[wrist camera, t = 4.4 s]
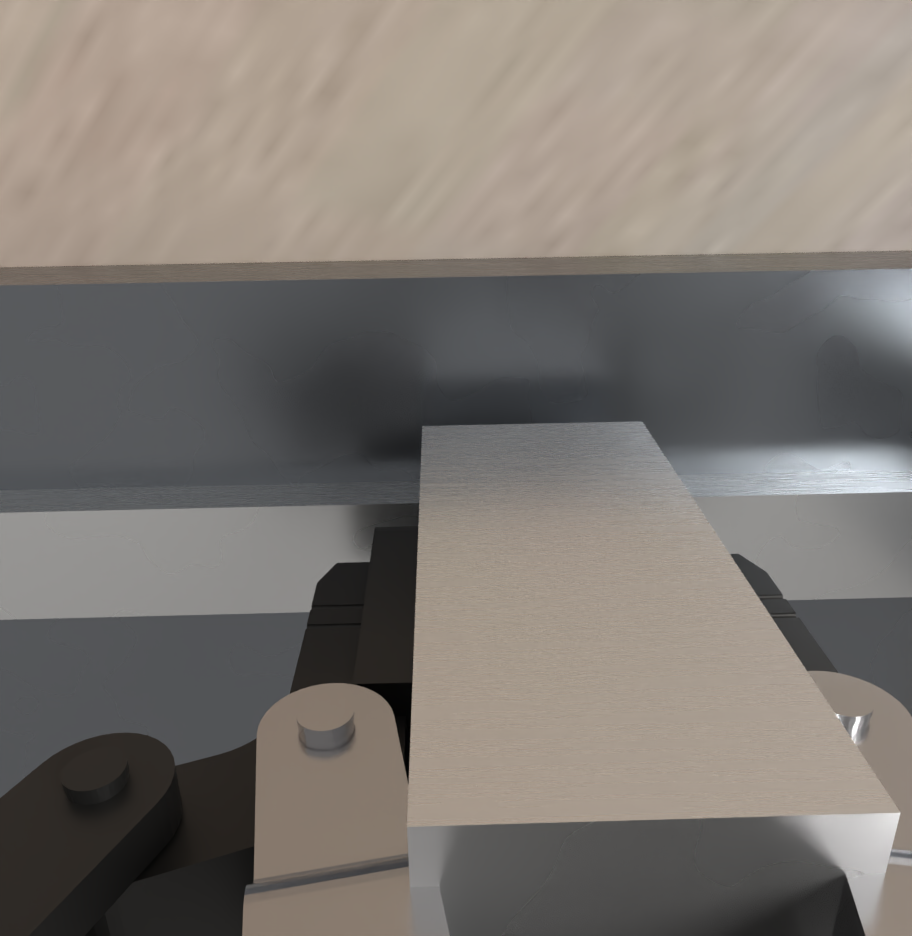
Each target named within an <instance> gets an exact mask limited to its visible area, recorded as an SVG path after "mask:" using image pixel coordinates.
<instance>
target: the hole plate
mask: <svg viewBox="0 0 912 936" xmlns="http://www.w3.org/2000/svg"><path fill="white" fill-rule="evenodd" d="M634 421H642V422H643V423H644V425H645V426H646V428H647V429H648V431H649V432H650V434H651V436H652V437H653V439H654V440H655V442H656V443H657V445H658V446H659V448H660V449H661V451H662V452H663V454H664V455H665V457H666V458H667V460H668V461H669V463H670V464H671V466H672V467H673V469H674V470H675V472H676V473H677V475H678V476H679V478H680V479H681V481H682V482H683V484H684V485H685V487H686V489H687V490H688V492H689V493H690V495H691V496H692V498H693V499H694V501H695V502H696V504H697V505H698V507H699V508H700V510H701V511H702V513H703V514H704V516H705V517H706V519H707V520H708V522H709V523H710V525H711V526H712V528H713V529H714V531H715V532H716V534H717V535H718V537H719V538H720V540H721V541H722V543H723V545H724V546H725V548H726V549H727V551H728V552H729V554H740V555H741V556H743V557H744V558H746V559H747V560H749V561H750V562H752V563H754V564H755V565H757V566H758V567H760V568H761V569H763V570H764V571H766V572H767V573H768V574H769V576H770V577H771V579H772V580H773V581H774V583H775V584H776V586H777V587H778V588H779V590H780V591H781V593H782V594H783V599H786V600H787V601H788V602H789V604H790V605H791V607H792V608H793V609H794V611H795V612H796V618H800V619H801V621H802V622H803V624H804V625H805V626H806V628H807V629H808V631H809V632H810V633H811V635H812V636H813V638H814V639H815V640H816V642H817V643H818V645H819V646H820V647H821V649H822V650H823V652H824V653H825V654H826V656H827V657H828V659H829V660H830V661H831V663H832V664H833V666H834V667H835V668H836V670H837V671H838V673H840V674H845V675H849V676H852V677H856V678H859V679H861V680H864V681H866V682H869V683H871V684H873V685H875V686H877V687H879V688H881V689H883V690H884V691H886V692H887V693H889V694H890V695H892V696H893V697H894V698H895V699H897V700H898V701H899V702H900V703H901V704H902V705H903V706H904V707H905V708H906V709H907V710H908V712H909V713H910V715H911V717H912V251H879V252H824V253H770V254H715V255H661V256H607V257H552V258H498V259H443V260H389V261H335V262H280V263H226V264H171V265H117V266H62V267H8V268H0V798H1V797H2V796H3V795H5V794H6V793H7V792H8V791H9V790H11V789H12V788H13V787H14V786H15V785H17V784H18V783H19V782H20V781H21V780H23V779H24V778H25V777H26V776H27V775H29V774H30V773H31V772H32V771H33V770H35V769H36V768H37V767H38V766H39V765H41V764H42V763H43V762H44V761H46V760H47V759H49V758H50V757H51V756H53V755H54V754H56V753H58V752H59V751H61V750H63V749H64V748H67V747H69V746H71V745H73V744H75V743H77V742H80V741H83V740H86V739H89V738H92V737H96V736H100V735H105V734H112V733H139V734H143V735H148V736H151V737H153V738H155V739H158V740H159V741H161V742H162V743H164V744H165V745H166V746H167V747H168V748H169V750H170V751H171V753H172V755H173V757H174V762H175V766H176V765H180V764H184V763H188V762H192V761H196V760H200V759H203V758H207V757H211V756H215V755H219V754H222V753H225V752H228V751H231V750H234V749H236V748H239V747H241V746H243V745H245V744H247V743H249V742H251V741H253V740H254V739H256V738H257V730H258V726H259V724H260V721H261V719H262V718H263V716H264V715H265V713H266V712H267V711H268V710H269V709H270V708H271V707H272V706H273V705H274V704H275V703H276V702H278V701H279V700H280V699H282V698H284V697H285V696H287V695H289V694H290V690H291V686H292V682H293V678H294V674H295V670H296V666H297V662H298V658H299V654H300V650H301V646H302V642H303V638H304V634H305V629H307V621H308V617H309V613H310V610H311V609H312V607H311V605H312V601H313V597H314V593H315V589H316V585H317V582H318V581H319V580H320V579H321V578H322V577H323V576H324V575H325V574H326V573H327V572H328V571H329V570H330V569H331V568H332V567H333V566H334V565H335V564H336V563H346V562H370V557H371V550H372V543H373V536H374V529H375V527H400V526H418V525H419V499H420V473H421V447H422V426H448V425H495V424H541V423H588V422H634Z"/></svg>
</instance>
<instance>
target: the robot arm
mask: <svg viewBox="0 0 912 936" xmlns="http://www.w3.org/2000/svg"><path fill="white" fill-rule="evenodd" d="M417 552H418V526H400V527H375V529H374V536H373V543H372V550H371V557H370V562H346V563H336V564H335V565H334V566H333V567H332V568H331V569H330V570H329V571H328V572H327V573H326V574H325V575H324V576H323V577H322V578H321V579H320V580H319V581H318V582H317V585H316V589H315V593H314V597H313V601H312V605H311V607H312V609H311V610H310V613H309V617H308V621H307V629H305V634H304V638H303V642H302V646H301V650H300V654H299V658H298V662H297V666H296V670H295V674H294V678H293V682H292V686H291V690H290V694H289V695H287V696H285V697H284V698H282V699H280V700H279V701H278V702H276V703H275V704H274V705H273V706H272V707H271V708H270V709H269V710H268V711H267V712H266V713H265V715H264V716H263V718H262V719H261V721H260V724H259V726H258V730H257V738H256V739H254V740H253V741H251V742H249V743H247V744H245V745H243V746H241V747H239V748H236V749H234V750H231V751H228V752H225V753H222V754H219V755H215V756H211V757H207V758H203V759H200V760H196V761H192V762H188V763H184V764H180V765H176V766H175V762H174V757H173V755H172V753H171V751H170V750H169V748H168V747H167V746H166V745H165V744H164V743H162V742H161V741H159V740H158V739H155V738H153V737H151V736H148V735H143V734H139V733H112V734H105V735H100V736H96V737H92V738H89V739H86V740H83V741H80V742H77V743H75V744H73V745H71V746H69V747H67V748H64V749H63V750H61V751H59V752H58V753H56V754H54V755H53V756H51V757H50V758H49V759H47V760H46V761H44V762H43V763H42V764H41V765H39V766H38V767H37V768H36V769H35V770H33V771H32V772H31V773H30V774H29V775H27V776H26V777H25V778H24V779H23V780H21V781H20V782H19V783H18V784H17V785H15V786H14V787H13V788H12V789H11V790H9V791H8V792H7V793H6V794H5V795H3V796H2V797H1V798H0V936H450V934H449V929H448V925H447V920H446V916H445V911H444V906H443V902H442V897H441V893H440V888H439V886H437V887H410V879H409V858H408V838H407V813H408V787H409V761H410V735H411V709H412V682H413V656H414V630H415V604H416V578H417ZM730 555H731V557H732V558H733V560H734V561H735V563H736V564H737V566H738V567H739V569H740V570H741V572H742V573H743V575H744V576H745V578H746V579H747V581H748V582H749V584H750V585H751V587H752V588H753V590H754V591H755V593H756V594H757V596H758V598H759V599H760V601H761V602H762V604H763V605H764V607H765V608H766V610H767V611H768V613H769V614H770V616H771V617H772V619H773V620H774V622H775V623H776V625H777V626H778V628H779V629H780V631H781V632H782V634H783V635H784V637H785V638H786V640H787V641H788V643H789V644H790V646H791V647H792V649H793V650H794V652H795V654H796V655H797V657H798V658H799V660H800V661H801V663H802V664H803V666H804V667H805V669H806V670H807V672H808V673H809V675H810V676H811V678H812V679H813V681H814V682H815V684H816V685H817V687H818V688H819V690H820V691H821V693H822V694H823V696H824V697H825V699H826V700H827V702H828V703H829V705H830V707H831V708H832V710H833V711H834V713H835V714H836V716H837V717H838V719H839V720H840V722H841V723H842V725H843V726H844V728H845V729H846V731H847V732H848V734H849V735H850V737H851V738H852V740H853V741H854V743H855V744H856V746H857V747H858V749H859V750H860V752H861V753H862V755H863V756H864V758H865V760H866V761H867V763H868V764H869V766H870V767H871V769H872V770H873V772H874V773H875V775H876V776H877V778H878V779H879V781H880V782H881V784H882V785H883V787H884V788H885V790H886V791H887V793H888V794H889V796H890V797H891V799H892V800H893V802H894V803H895V805H896V806H897V808H898V809H899V811H900V812H901V813H900V817H899V821H898V825H897V829H896V833H895V837H894V841H893V845H892V849H891V853H890V857H889V861H888V865H887V869H886V873H869V874H846V876H845V880H844V885H843V889H842V894H841V898H840V902H839V907H838V911H837V916H836V920H835V925H834V929H833V934H832V936H912V717H911V715H910V713H909V712H908V710H907V709H906V708H905V707H904V706H903V705H902V704H901V703H900V702H899V701H898V700H897V699H895V698H894V697H893V696H892V695H890V694H889V693H887V692H886V691H884V690H883V689H881V688H879V687H877V686H875V685H873V684H871V683H869V682H866V681H864V680H861V679H859V678H856V677H852V676H849V675H845V674H840V673H838V671H837V670H836V668H835V667H834V666H833V664H832V663H831V661H830V660H829V659H828V657H827V656H826V654H825V653H824V652H823V650H822V649H821V647H820V646H819V645H818V643H817V642H816V640H815V639H814V638H813V636H812V635H811V633H810V632H809V631H808V629H807V628H806V626H805V625H804V624H803V622H802V621H801V619H800V618H796V612H795V611H794V609H793V608H792V607H791V605H790V604H789V602H788V601H787V600H786V599H783V594H782V593H781V591H780V590H779V588H778V587H777V586H776V584H775V583H774V581H773V580H772V579H771V577H770V576H769V574H768V573H767V572H766V571H764V570H763V569H761V568H760V567H758V566H757V565H755V564H754V563H752V562H750V561H749V560H747V559H746V558H744V557H743V556H741V555H740V554H730Z"/></svg>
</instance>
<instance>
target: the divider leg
mask: <svg viewBox="0 0 912 936" xmlns="http://www.w3.org/2000/svg"><path fill="white" fill-rule="evenodd" d="M900 813H901V812H900V811H899V809H898V808H897V806H896V805H895V803H894V802H893V800H892V799H891V797H890V796H889V794H888V793H887V791H886V790H885V788H884V787H883V785H882V784H881V782H880V781H879V779H878V778H877V776H876V775H875V773H874V772H873V770H872V769H871V767H870V766H869V764H868V763H867V761H866V760H865V758H864V756H863V755H862V753H861V752H860V750H859V749H858V747H857V746H856V744H855V743H854V741H853V740H852V738H851V737H850V735H849V734H848V732H847V731H846V729H845V728H844V726H843V725H842V723H841V722H840V720H839V719H838V717H837V716H836V714H835V713H834V711H833V710H832V708H831V707H830V705H829V703H828V702H827V700H826V699H825V697H824V696H823V694H822V693H821V691H820V690H819V688H818V687H817V685H816V684H815V682H814V681H813V679H812V678H811V676H810V675H809V673H808V672H807V670H806V669H805V667H804V666H803V664H802V663H801V661H800V660H799V658H798V657H797V655H796V654H795V652H794V650H793V649H792V647H791V646H790V644H789V643H788V641H787V640H786V638H785V637H784V635H783V634H782V632H781V631H780V629H779V628H778V626H777V625H776V623H775V622H774V620H773V619H772V617H771V616H770V614H769V613H768V611H767V610H766V608H765V607H764V605H763V604H762V602H761V601H760V599H759V598H758V596H757V594H756V593H755V591H754V590H753V588H752V587H751V585H750V584H749V582H748V581H747V579H746V578H745V576H744V575H743V573H742V572H741V570H740V569H739V567H738V566H737V564H736V563H735V561H734V560H733V558H732V557H731V555H730V554H729V552H728V551H727V549H726V548H725V546H724V545H723V543H722V541H721V540H720V538H719V537H718V535H717V534H716V532H715V531H714V529H713V528H712V526H711V525H710V523H709V522H708V520H707V519H706V517H705V516H704V514H703V513H702V511H701V510H700V508H699V507H698V505H697V504H696V502H695V501H694V499H693V498H692V496H691V495H690V493H689V492H688V490H687V489H686V487H685V485H684V484H683V482H682V481H681V479H680V478H679V476H678V475H677V473H676V472H675V470H674V469H673V467H672V466H671V464H670V463H669V461H668V460H667V458H666V457H665V455H664V454H663V452H662V451H661V449H660V448H659V446H658V445H657V443H656V442H655V440H654V439H653V437H652V436H651V434H650V432H649V431H648V429H647V428H646V426H645V425H644V423H643V422H642V421H634V422H588V423H541V424H495V425H448V426H422V447H421V473H420V499H419V525H418V552H417V578H416V604H415V630H414V656H413V682H412V709H411V735H410V761H409V787H408V813H407V838H408V858H409V879H410V887H437V886H439V888H440V893H441V897H442V902H443V906H444V911H445V916H446V920H447V925H448V929H449V934H450V936H832V934H833V929H834V925H835V920H836V916H837V911H838V907H839V902H840V898H841V894H842V889H843V885H844V880H845V876H846V874H869V873H886V869H887V865H888V861H889V857H890V853H891V849H892V845H893V841H894V837H895V833H896V829H897V825H898V821H899V817H900Z"/></svg>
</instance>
